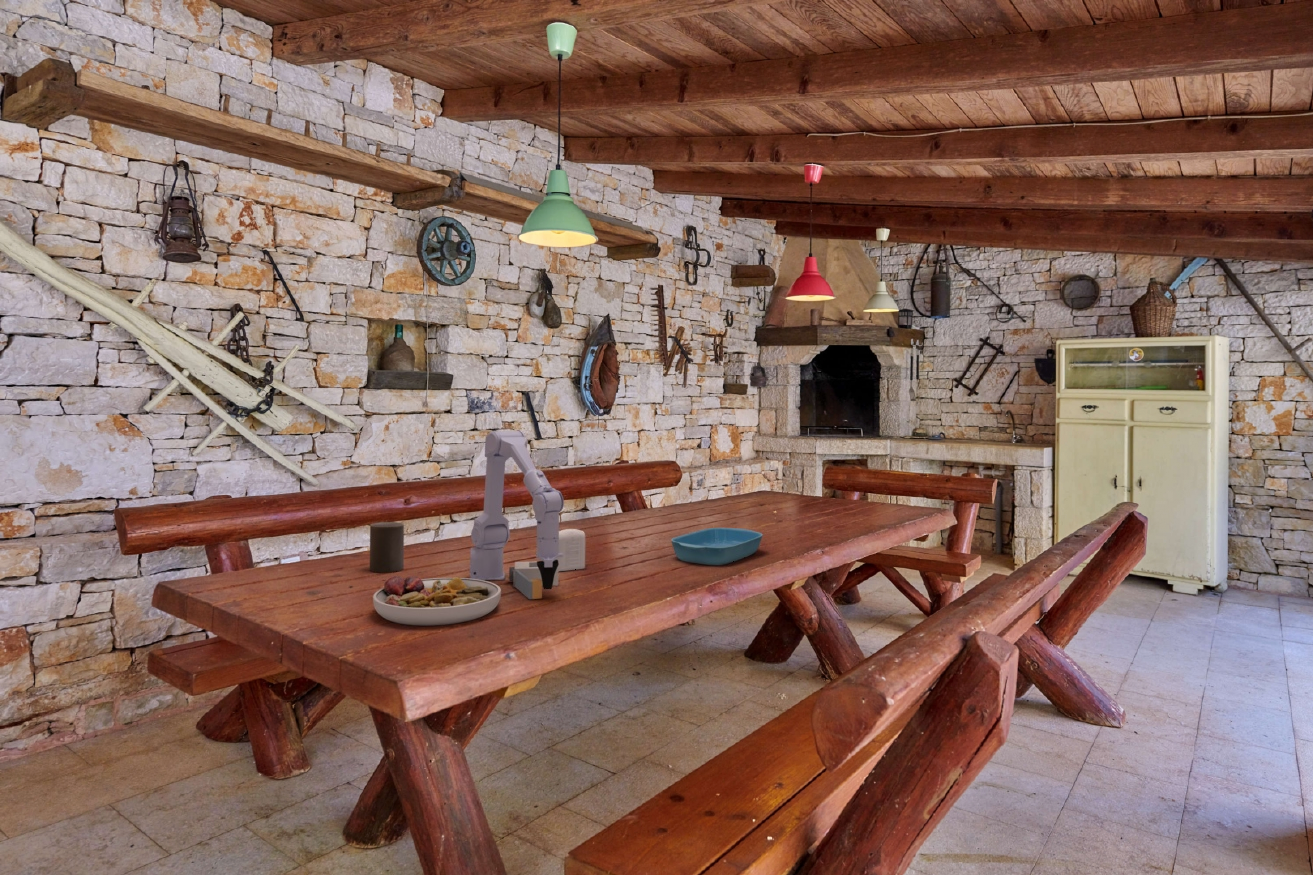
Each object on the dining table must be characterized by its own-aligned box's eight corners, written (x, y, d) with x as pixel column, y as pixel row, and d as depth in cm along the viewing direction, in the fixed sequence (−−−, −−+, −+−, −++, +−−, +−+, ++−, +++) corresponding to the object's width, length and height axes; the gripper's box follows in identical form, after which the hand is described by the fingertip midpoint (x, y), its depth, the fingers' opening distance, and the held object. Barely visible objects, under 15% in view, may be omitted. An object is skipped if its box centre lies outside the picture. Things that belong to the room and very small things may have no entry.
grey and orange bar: (513, 586, 217) (513, 569, 217) (526, 585, 219) (526, 568, 218) (527, 599, 204) (528, 581, 203) (541, 598, 205) (541, 580, 205)
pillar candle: (382, 574, 230) (382, 523, 229) (362, 569, 236) (363, 519, 235) (410, 569, 238) (411, 520, 237) (391, 564, 244) (391, 516, 243)
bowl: (519, 600, 204) (519, 570, 204) (466, 634, 175) (466, 599, 175) (414, 592, 211) (414, 563, 211) (346, 624, 182) (346, 590, 181)
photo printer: (580, 566, 245) (580, 526, 244) (587, 569, 241) (587, 528, 240) (550, 570, 239) (550, 529, 238) (556, 572, 235) (557, 531, 235)
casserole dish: (719, 571, 241) (720, 548, 241) (659, 561, 254) (659, 539, 253) (772, 552, 272) (772, 531, 271) (715, 544, 284) (716, 525, 284)
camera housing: (508, 586, 217) (509, 568, 217) (509, 579, 226) (509, 561, 226) (558, 585, 220) (558, 567, 219) (557, 578, 228) (557, 560, 228)
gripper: (564, 542, 200) (564, 595, 201) (561, 532, 214) (561, 581, 215) (536, 542, 199) (536, 596, 199) (535, 532, 213) (535, 582, 214)
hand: (547, 588), depth 207 cm, fingers closed
